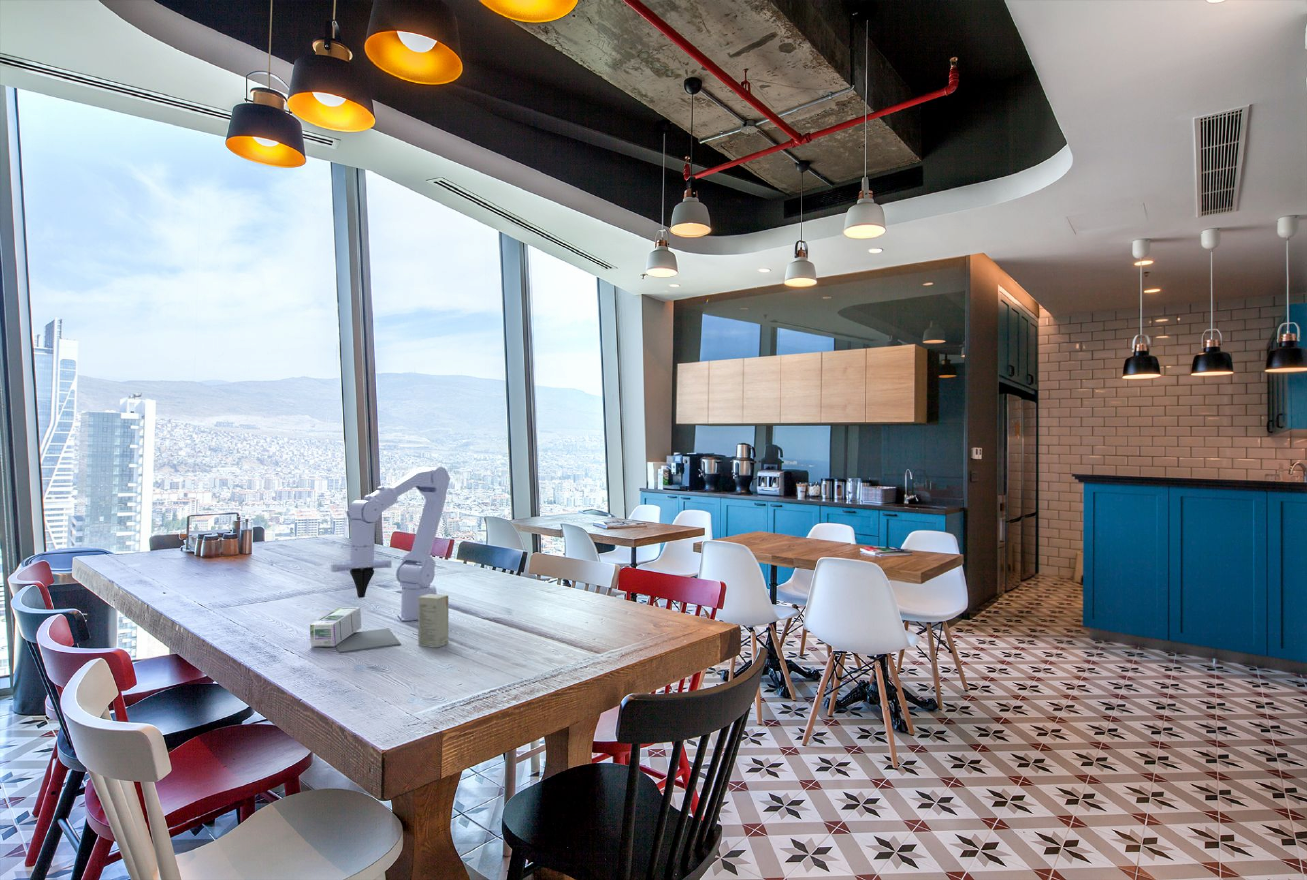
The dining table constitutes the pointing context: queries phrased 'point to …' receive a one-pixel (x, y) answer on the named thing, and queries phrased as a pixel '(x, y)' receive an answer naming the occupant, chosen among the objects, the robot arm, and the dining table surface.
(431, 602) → the skincare box
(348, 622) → the syrup box
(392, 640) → the grey mat
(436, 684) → the dining table surface
